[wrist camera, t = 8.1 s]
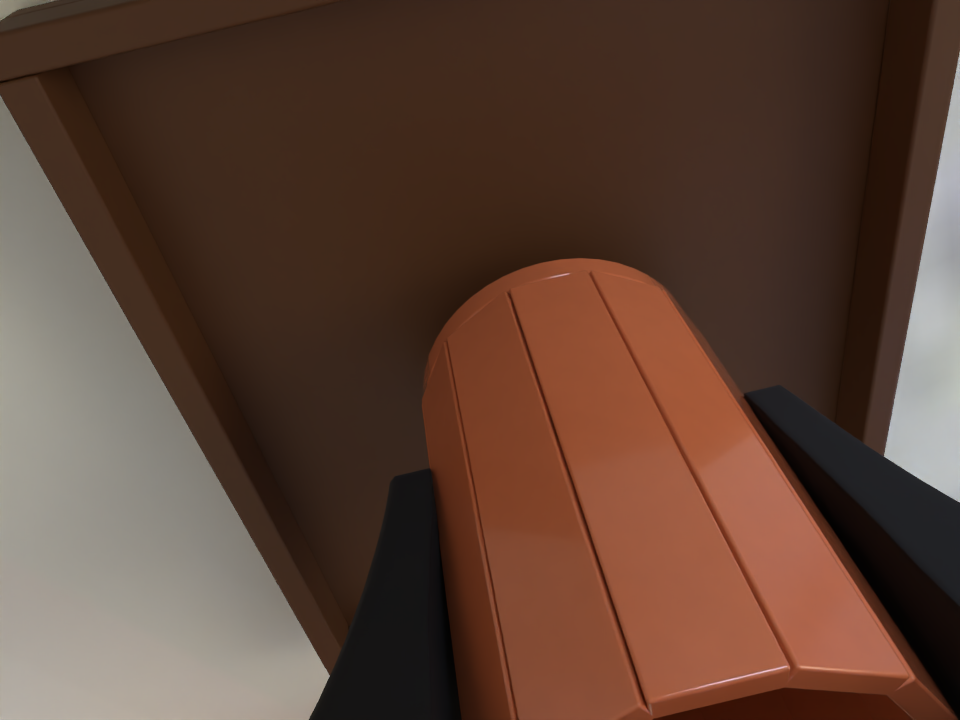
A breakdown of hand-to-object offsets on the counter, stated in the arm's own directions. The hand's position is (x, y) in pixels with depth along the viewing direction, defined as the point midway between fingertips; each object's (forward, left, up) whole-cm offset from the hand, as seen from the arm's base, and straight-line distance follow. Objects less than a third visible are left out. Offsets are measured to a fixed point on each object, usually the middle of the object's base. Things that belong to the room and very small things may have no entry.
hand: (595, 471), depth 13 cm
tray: (0, 0, -4) cm, 4 cm away
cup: (0, 0, -2) cm, 3 cm away
